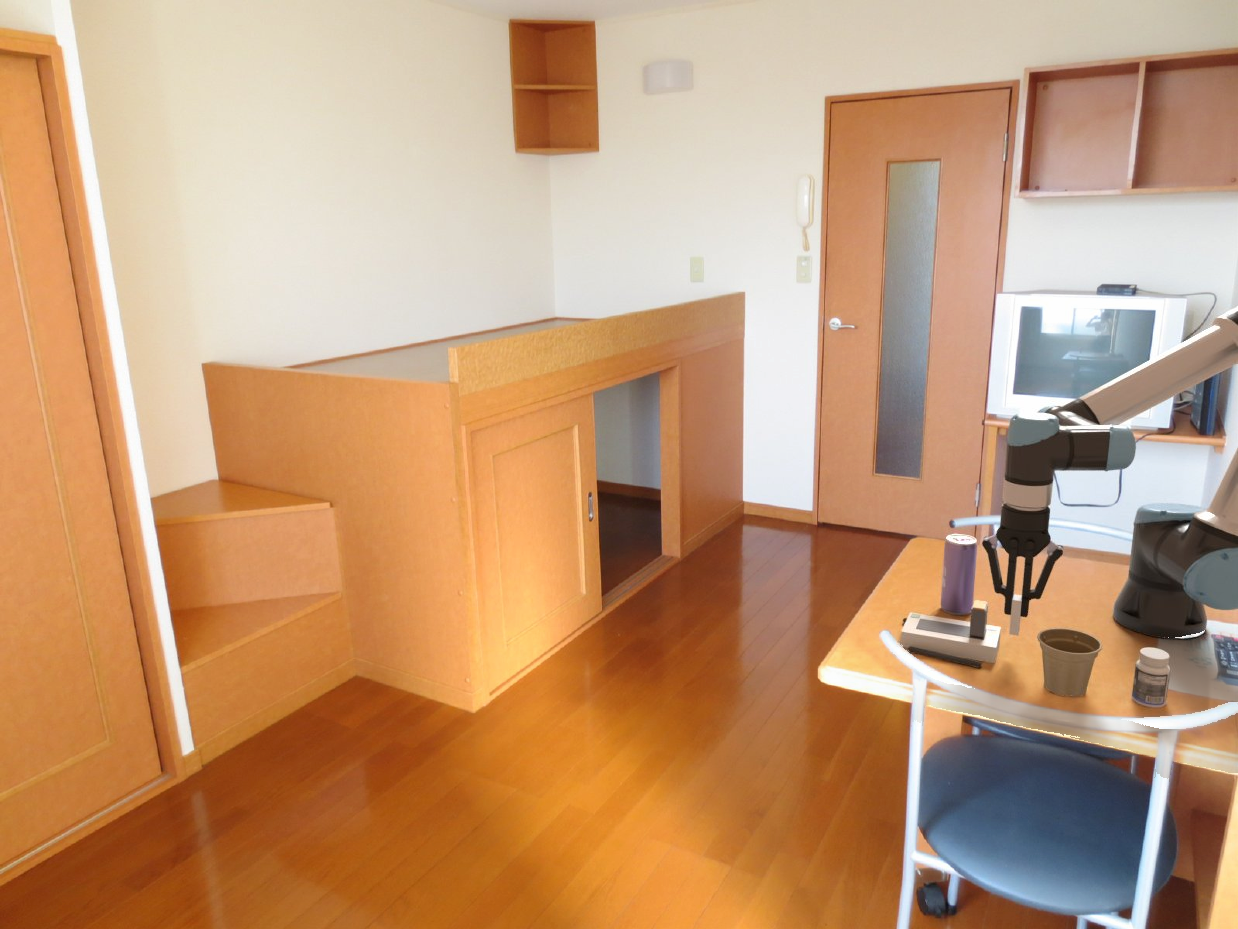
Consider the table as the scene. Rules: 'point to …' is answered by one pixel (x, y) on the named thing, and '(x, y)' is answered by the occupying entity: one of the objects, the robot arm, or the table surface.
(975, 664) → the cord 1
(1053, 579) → the table surface
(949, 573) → the beverage can
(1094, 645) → the flower pot
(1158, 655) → the pill bottle
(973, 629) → the lever
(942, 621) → the white slider switch base
